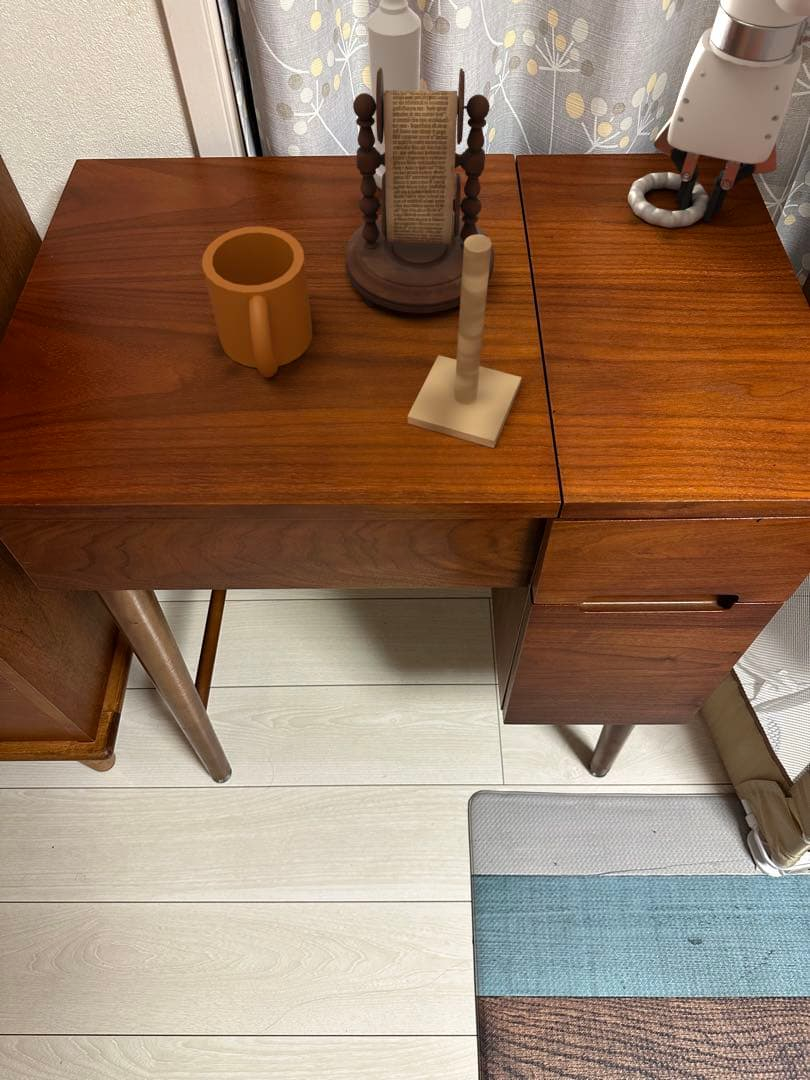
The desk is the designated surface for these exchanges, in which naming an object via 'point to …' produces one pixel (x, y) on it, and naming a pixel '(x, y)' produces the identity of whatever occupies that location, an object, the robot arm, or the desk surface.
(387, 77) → the bottle
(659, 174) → the ring
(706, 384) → the desk surface
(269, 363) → the mug
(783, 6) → the robot arm
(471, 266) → the wooden peg stand
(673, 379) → the desk surface
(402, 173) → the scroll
